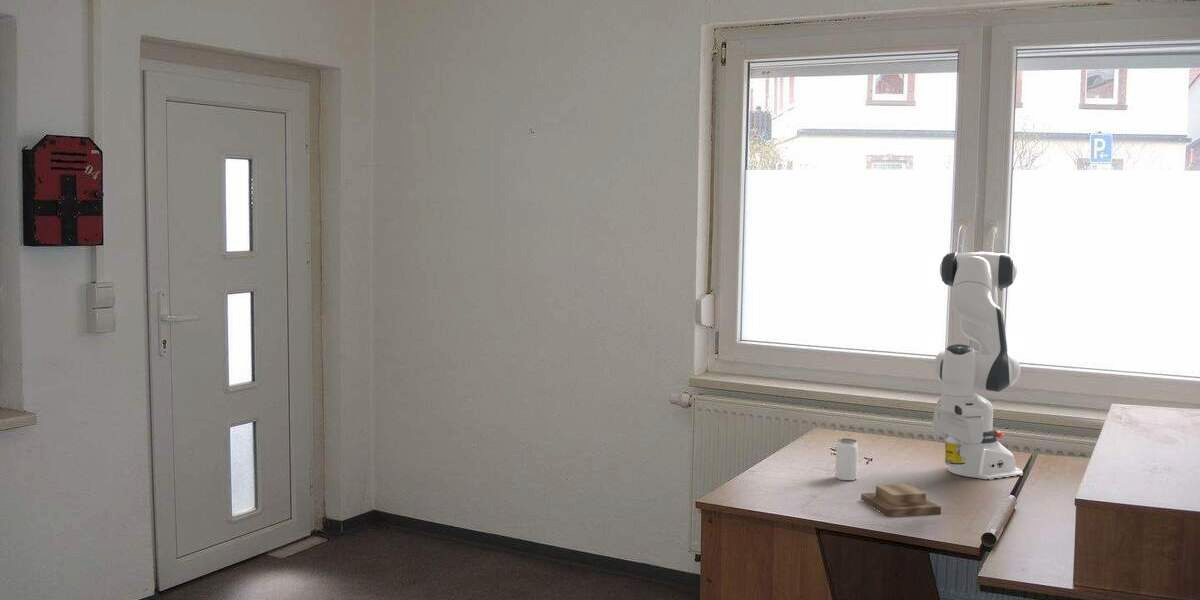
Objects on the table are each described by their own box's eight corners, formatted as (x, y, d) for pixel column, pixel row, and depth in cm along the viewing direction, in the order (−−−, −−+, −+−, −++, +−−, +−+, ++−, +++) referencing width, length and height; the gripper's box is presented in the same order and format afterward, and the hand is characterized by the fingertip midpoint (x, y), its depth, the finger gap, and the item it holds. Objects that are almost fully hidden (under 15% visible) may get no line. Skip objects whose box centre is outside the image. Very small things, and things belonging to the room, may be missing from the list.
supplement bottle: (941, 462, 291) (942, 428, 291) (960, 462, 292) (961, 427, 291) (949, 467, 286) (951, 432, 285) (968, 467, 287) (970, 432, 286)
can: (857, 481, 319) (858, 443, 318) (835, 480, 321) (836, 442, 320) (856, 476, 326) (857, 438, 325) (835, 475, 327) (836, 437, 326)
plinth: (912, 497, 303) (912, 480, 302) (940, 513, 287) (941, 495, 287) (860, 500, 300) (861, 483, 299) (886, 516, 284) (887, 498, 283)
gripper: (928, 397, 297) (926, 444, 298) (967, 412, 277) (965, 463, 278) (948, 396, 298) (946, 443, 299) (988, 411, 278) (986, 461, 280)
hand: (955, 453), depth 289 cm, fingers closed on supplement bottle, 5 cm apart
